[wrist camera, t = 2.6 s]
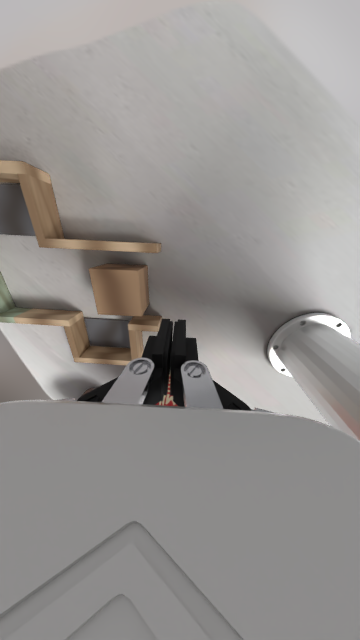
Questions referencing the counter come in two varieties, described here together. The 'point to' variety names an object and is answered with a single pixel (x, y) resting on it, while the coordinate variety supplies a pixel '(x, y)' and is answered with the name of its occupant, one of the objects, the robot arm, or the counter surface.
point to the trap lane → (44, 222)
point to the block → (120, 289)
